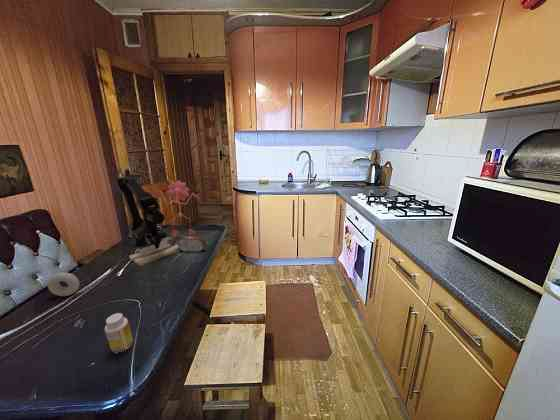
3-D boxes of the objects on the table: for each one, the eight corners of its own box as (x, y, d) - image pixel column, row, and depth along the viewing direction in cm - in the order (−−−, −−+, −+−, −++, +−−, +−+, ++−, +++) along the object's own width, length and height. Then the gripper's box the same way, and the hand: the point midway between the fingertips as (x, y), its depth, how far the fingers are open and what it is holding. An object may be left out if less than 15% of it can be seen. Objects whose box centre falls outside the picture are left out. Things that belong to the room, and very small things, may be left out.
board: (129, 258, 121) (128, 255, 120) (170, 243, 137) (170, 240, 137) (140, 266, 113) (139, 263, 113) (182, 249, 129) (182, 246, 129)
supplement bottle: (129, 335, 73) (122, 308, 70) (136, 344, 70) (128, 316, 67) (108, 347, 69) (99, 319, 66) (114, 358, 66) (105, 328, 63)
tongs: (173, 242, 133) (172, 235, 132) (176, 243, 131) (175, 236, 130) (138, 254, 120) (137, 247, 118) (141, 256, 118) (139, 249, 116)
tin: (207, 250, 128) (205, 235, 125) (204, 252, 125) (202, 238, 122) (180, 249, 129) (178, 235, 127) (177, 252, 126) (175, 237, 124)
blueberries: (92, 315, 83) (90, 310, 83) (98, 324, 78) (96, 319, 78) (67, 326, 79) (65, 322, 78) (72, 337, 73) (70, 332, 73)
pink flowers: (204, 239, 141) (196, 181, 131) (159, 242, 138) (148, 183, 129) (209, 230, 156) (202, 177, 146) (168, 233, 153) (159, 179, 143)
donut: (84, 290, 96) (77, 269, 93) (79, 295, 93) (72, 273, 90) (55, 294, 94) (47, 272, 91) (49, 300, 91) (41, 277, 88)
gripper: (125, 220, 119) (131, 248, 124) (141, 228, 108) (147, 259, 113) (148, 215, 127) (153, 241, 132) (165, 221, 116) (170, 250, 121)
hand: (155, 247), depth 124 cm, fingers closed on tongs, 3 cm apart
